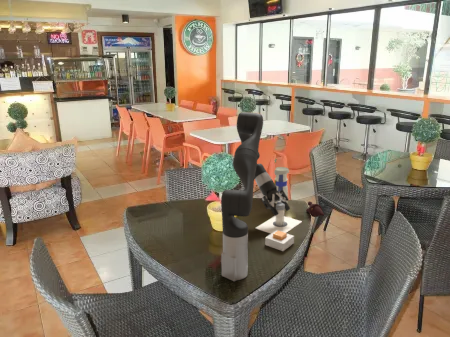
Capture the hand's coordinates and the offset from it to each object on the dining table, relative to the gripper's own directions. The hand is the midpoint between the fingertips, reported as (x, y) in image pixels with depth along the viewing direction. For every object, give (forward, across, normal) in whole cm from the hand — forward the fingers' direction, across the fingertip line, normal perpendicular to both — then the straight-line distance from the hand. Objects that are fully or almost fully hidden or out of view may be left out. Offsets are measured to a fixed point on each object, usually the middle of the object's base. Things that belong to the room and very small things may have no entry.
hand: (282, 212), depth 179 cm
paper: (+4, -1, +6) cm, 7 cm away
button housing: (+13, -15, -3) cm, 20 cm away
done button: (+11, -15, -5) cm, 19 cm away
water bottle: (-10, +22, +20) cm, 31 cm away
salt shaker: (+3, 0, +6) cm, 7 cm away
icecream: (+8, +20, +2) cm, 22 cm away
